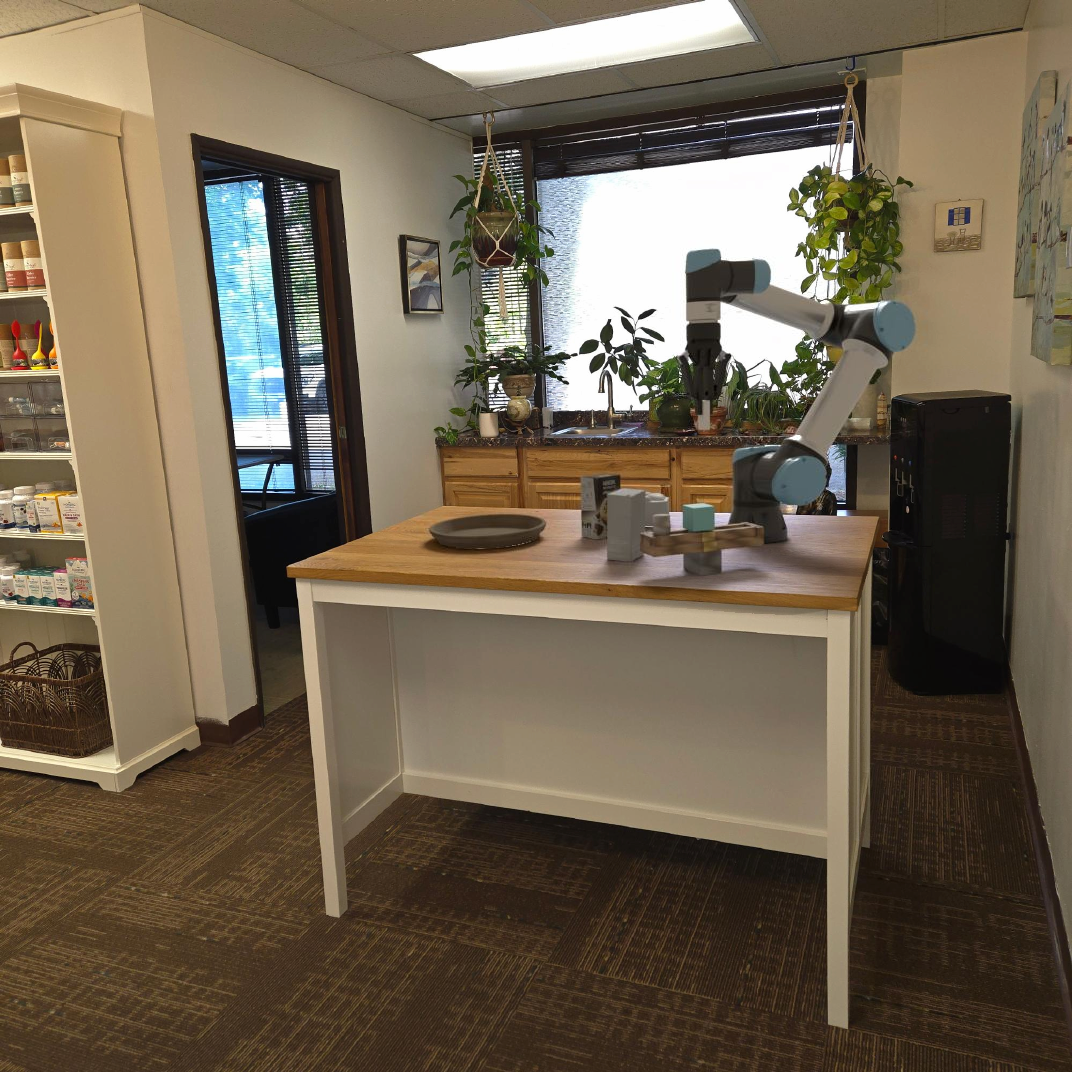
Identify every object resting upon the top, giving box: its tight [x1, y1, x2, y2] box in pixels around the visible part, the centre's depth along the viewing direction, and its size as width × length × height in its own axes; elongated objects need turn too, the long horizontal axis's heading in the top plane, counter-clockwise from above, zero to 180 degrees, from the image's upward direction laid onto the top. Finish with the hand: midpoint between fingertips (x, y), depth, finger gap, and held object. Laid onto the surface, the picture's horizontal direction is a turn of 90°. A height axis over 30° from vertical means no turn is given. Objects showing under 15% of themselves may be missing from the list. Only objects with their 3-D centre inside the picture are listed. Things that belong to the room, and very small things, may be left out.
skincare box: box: [606, 487, 647, 563], centre depth 217 cm, size 8×7×16 cm
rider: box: [682, 502, 716, 533], centre depth 200 cm, size 5×5×7 cm
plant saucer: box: [428, 513, 547, 549], centre depth 248 cm, size 31×31×5 cm
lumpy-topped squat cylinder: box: [645, 491, 670, 526], centre depth 260 cm, size 10×13×9 cm
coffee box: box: [580, 473, 622, 540], centre depth 245 cm, size 9×6×16 cm
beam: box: [640, 514, 765, 577], centre depth 202 cm, size 26×8×13 cm, turn 108°
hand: (704, 429), depth 211 cm, fingers closed
